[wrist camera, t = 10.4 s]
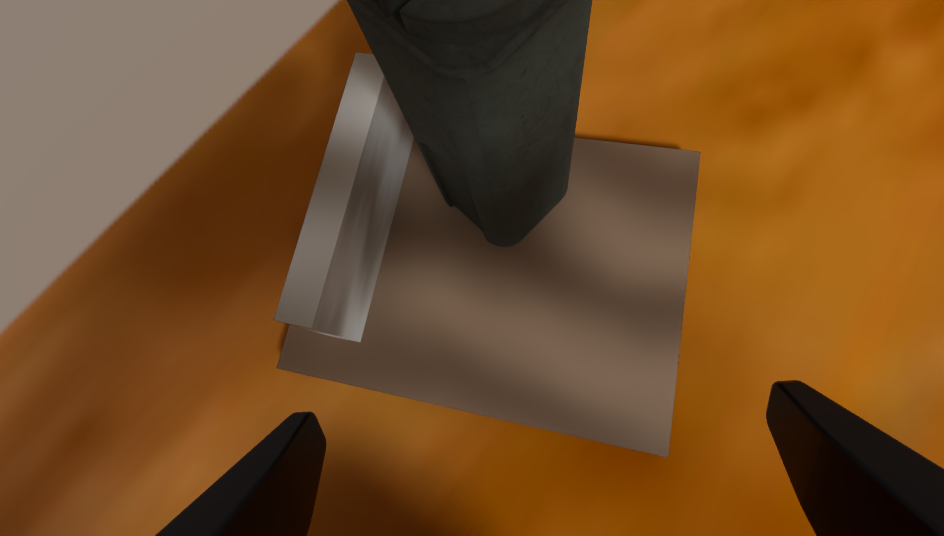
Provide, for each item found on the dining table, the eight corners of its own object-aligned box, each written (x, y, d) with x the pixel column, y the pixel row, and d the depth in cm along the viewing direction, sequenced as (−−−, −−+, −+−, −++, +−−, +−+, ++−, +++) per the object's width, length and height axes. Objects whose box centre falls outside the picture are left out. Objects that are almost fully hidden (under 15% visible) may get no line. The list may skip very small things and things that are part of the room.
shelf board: (660, 453, 21) (709, 477, 15) (289, 369, 24) (206, 361, 18) (692, 163, 24) (743, 86, 18) (360, 124, 27) (310, 48, 21)
